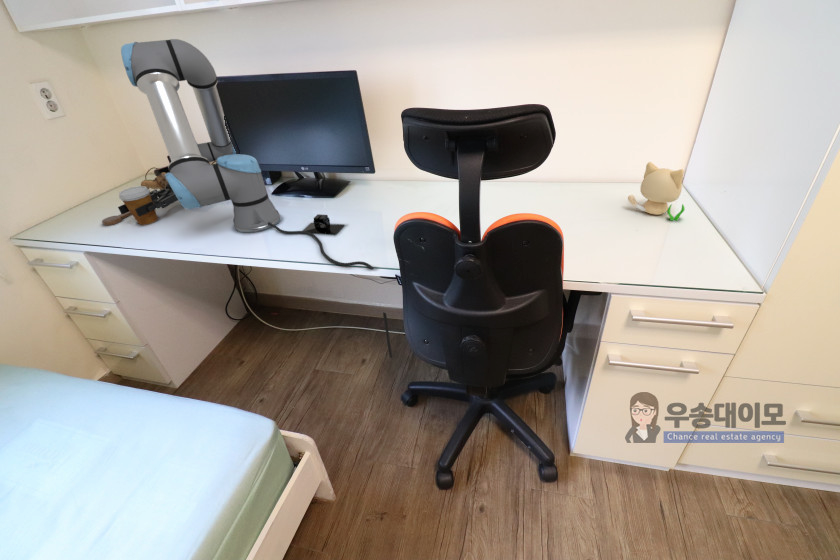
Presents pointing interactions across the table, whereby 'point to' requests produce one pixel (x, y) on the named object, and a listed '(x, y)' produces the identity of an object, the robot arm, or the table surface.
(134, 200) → the disposable coffee cup
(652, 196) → the kitten
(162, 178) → the lion figurine
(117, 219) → the spoon
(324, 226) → the build plate
